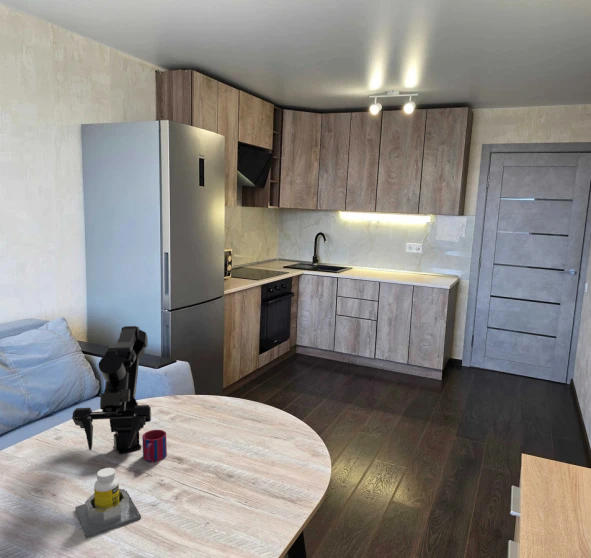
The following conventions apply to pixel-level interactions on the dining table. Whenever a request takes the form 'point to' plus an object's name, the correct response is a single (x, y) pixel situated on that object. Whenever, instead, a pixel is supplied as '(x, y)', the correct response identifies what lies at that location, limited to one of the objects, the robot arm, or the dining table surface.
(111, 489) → the supplement bottle
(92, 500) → the collar
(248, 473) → the dining table surface
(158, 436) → the mug
